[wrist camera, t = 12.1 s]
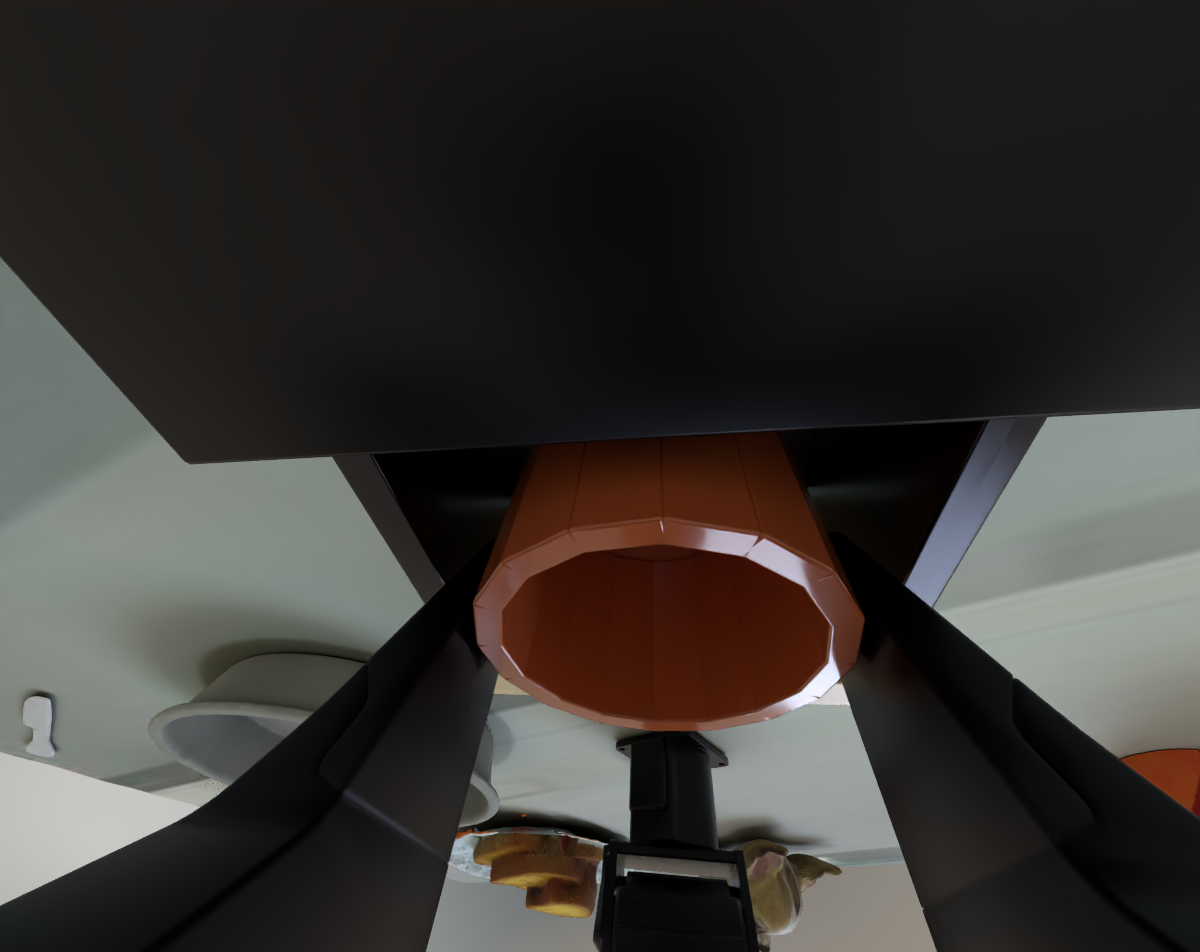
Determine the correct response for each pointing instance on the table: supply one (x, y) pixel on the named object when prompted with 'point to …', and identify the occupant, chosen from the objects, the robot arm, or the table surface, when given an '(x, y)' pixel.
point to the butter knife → (39, 725)
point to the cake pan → (276, 720)
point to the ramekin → (667, 584)
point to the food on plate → (536, 865)
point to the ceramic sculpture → (777, 886)
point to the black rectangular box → (605, 214)
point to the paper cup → (1172, 774)
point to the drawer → (824, 458)
